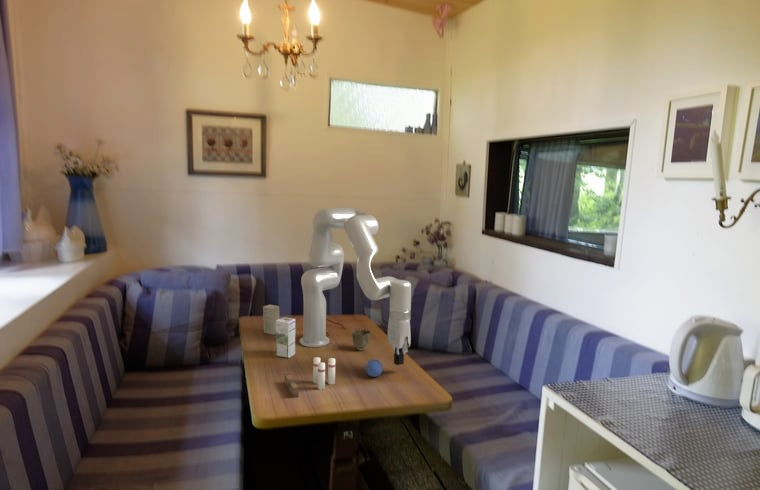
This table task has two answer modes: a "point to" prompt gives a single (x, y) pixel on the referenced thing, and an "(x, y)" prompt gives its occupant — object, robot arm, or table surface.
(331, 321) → the glasses
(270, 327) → the skincare box
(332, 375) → the front pin
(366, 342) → the cup
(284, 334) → the syrup box
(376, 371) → the ball
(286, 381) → the back wall
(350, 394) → the table surface
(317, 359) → the pin
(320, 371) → the pin
